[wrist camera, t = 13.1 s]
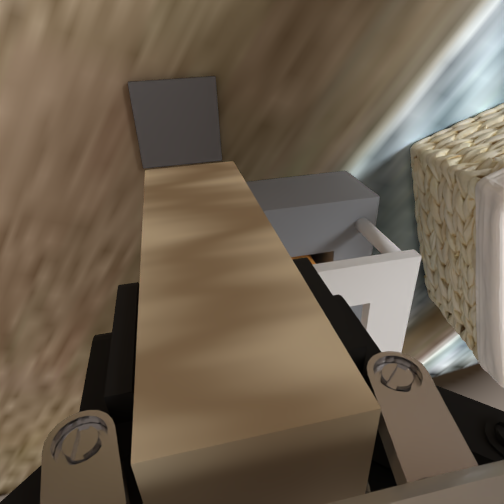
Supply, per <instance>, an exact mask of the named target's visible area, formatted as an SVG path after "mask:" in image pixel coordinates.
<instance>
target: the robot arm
mask: <svg viewBox="0 0 504 504" xmlns="http://www.w3.org/2000/svg"><path fill="white" fill-rule="evenodd" d="M292 260H293V262H294V263H295V265H296V267H297V268H298V270H299V272H300V273H301V275H302V277H303V278H304V280H305V282H306V283H307V285H308V287H309V288H310V290H311V292H312V293H313V295H314V297H315V298H316V300H317V302H318V303H319V305H320V307H321V308H322V310H323V312H324V313H325V315H326V317H327V318H328V320H329V322H330V323H331V325H332V327H333V328H334V330H335V332H336V333H337V335H338V337H339V338H340V340H341V342H342V343H343V345H344V347H345V348H346V350H347V352H348V353H349V355H350V357H351V358H352V360H353V362H354V363H355V365H356V367H357V368H358V370H359V372H360V373H361V375H362V377H363V378H364V380H365V382H366V383H367V385H368V387H369V388H370V390H371V392H372V393H373V395H374V397H375V398H376V400H377V402H378V403H379V405H380V407H381V413H380V418H379V423H378V429H377V434H376V439H375V444H374V450H373V455H372V460H371V465H370V471H369V476H368V481H367V486H366V492H365V494H363V495H359V496H355V497H351V498H347V499H343V500H339V501H335V502H332V503H328V504H504V411H501V410H499V409H496V408H493V407H491V406H488V405H485V404H483V403H480V402H478V401H475V400H473V399H470V398H467V397H464V396H462V395H460V394H457V393H454V392H452V391H449V390H446V389H443V388H441V387H439V386H436V385H435V384H434V382H433V380H432V378H431V376H430V375H429V373H428V371H427V370H426V368H425V367H424V366H423V364H421V363H420V362H419V361H418V360H416V359H415V358H413V357H411V356H409V355H407V354H404V353H400V352H394V351H386V352H381V351H380V349H379V348H378V346H377V345H376V343H375V342H374V341H373V339H372V338H371V336H370V335H369V333H368V332H367V331H366V329H365V328H364V326H363V325H362V323H361V322H360V321H359V319H358V318H357V316H356V315H355V313H354V312H353V311H352V309H351V308H350V306H349V305H348V303H347V302H346V301H345V299H344V298H343V297H342V296H341V295H339V294H338V295H332V293H331V292H330V290H329V289H328V287H327V286H326V284H325V283H324V281H323V280H322V278H321V277H320V275H319V274H318V272H317V271H316V269H315V268H314V266H313V265H312V263H311V262H310V260H309V259H308V258H307V257H305V258H298V259H292ZM138 304H139V283H138V282H137V283H130V284H124V285H119V286H118V291H117V298H116V306H115V314H114V322H113V329H112V332H111V333H106V334H100V335H95V336H94V338H93V341H92V347H91V352H90V357H89V363H88V368H87V373H86V379H85V384H84V389H83V395H82V400H81V405H80V411H79V412H78V413H75V414H73V415H71V416H69V417H67V418H66V419H64V420H63V421H61V422H60V423H59V424H57V426H56V427H55V428H54V429H53V430H52V431H51V432H50V433H49V435H48V437H47V439H46V440H45V442H44V446H43V450H42V465H41V466H40V467H39V468H38V469H37V470H36V471H34V472H33V473H32V474H31V475H30V476H29V477H28V478H27V479H26V480H24V481H23V482H22V483H21V484H20V485H19V486H18V487H17V488H16V489H14V490H13V491H12V492H11V493H10V494H9V495H8V496H7V497H6V498H4V499H3V500H2V501H1V502H0V504H143V501H142V498H141V494H140V491H139V488H138V485H137V482H136V479H135V476H134V473H133V470H132V467H131V448H132V427H133V407H134V386H135V365H136V345H137V324H138Z"/></svg>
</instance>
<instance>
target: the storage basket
mask: <svg viewBox="0 0 504 504" xmlns="http://www.w3.org/2000/svg"><path fill="white" fill-rule="evenodd" d="M410 155H411V168H412V178H413V181H414V182H413V192H414V197H415V210H414V211H415V217H416V221H417V224H418V225H417V234H418V240H419V242H420V249H419V250H420V255H421V256H422V257H421V258H422V261H423V267H424V271H425V276H424V278H425V285H426V286H427V291H428V295H429V297H430V299H431V300H432V301H433V302H434V303H435V305H436V306H437V307H439V308H440V311H441V312H442V314H443V316H444V317H445V318H446V319H447V321H448V323H449V324H451V325H452V326H453V327H454V329H455V331H456V332H457V333H458V334H459V335H460V337H461V338H462V340H464V341H465V342H466V344H467V346H468V347H469V349H470V350H472V351H473V354H474V356H475V357H476V359H477V360H478V363H479V364H480V365H481V367H482V368H483V369H484V370H485V371H487V372H488V373H489V374H490V375H491V377H492V378H493V379H494V380H495V381H496V382H497V383H498V384H499V385H500V386H501V387H503V388H504V103H502V104H500V105H498V106H497V107H495V108H493V109H489V110H486V111H484V112H482V113H480V114H478V115H477V116H475V117H474V118H468V119H465V120H463V121H460V122H458V123H456V124H455V125H453V126H452V127H450V128H448V129H444V130H441V131H439V132H437V133H434V134H433V135H432V136H431V137H427V138H424V139H422V140H420V141H418V142H416V143H415V144H413V145H412V147H411V149H410Z"/></svg>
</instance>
